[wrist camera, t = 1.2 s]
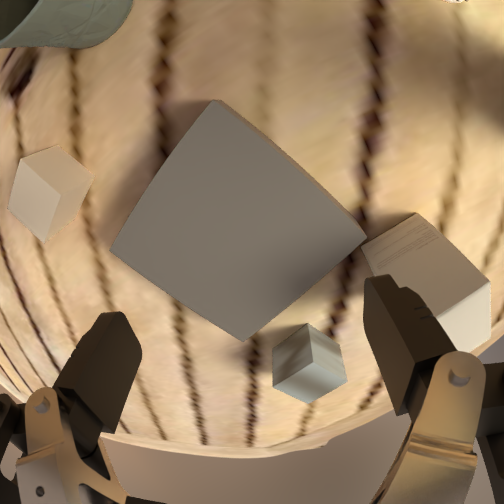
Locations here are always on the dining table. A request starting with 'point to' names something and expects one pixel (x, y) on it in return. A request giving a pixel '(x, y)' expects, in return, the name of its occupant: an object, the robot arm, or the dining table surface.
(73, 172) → the white cube
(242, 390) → the dining table surface
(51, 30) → the green cup
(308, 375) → the grey cube
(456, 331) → the supplement box
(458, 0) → the decorative candle
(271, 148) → the plinth
